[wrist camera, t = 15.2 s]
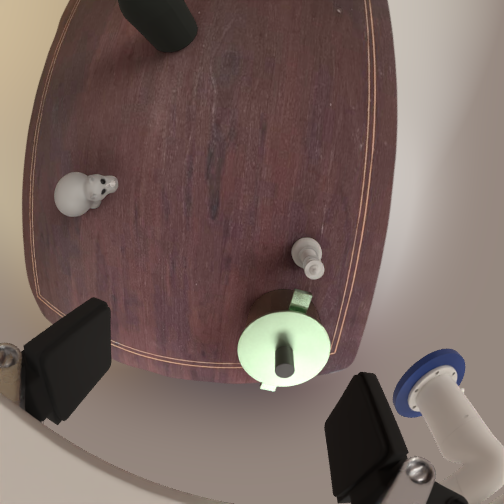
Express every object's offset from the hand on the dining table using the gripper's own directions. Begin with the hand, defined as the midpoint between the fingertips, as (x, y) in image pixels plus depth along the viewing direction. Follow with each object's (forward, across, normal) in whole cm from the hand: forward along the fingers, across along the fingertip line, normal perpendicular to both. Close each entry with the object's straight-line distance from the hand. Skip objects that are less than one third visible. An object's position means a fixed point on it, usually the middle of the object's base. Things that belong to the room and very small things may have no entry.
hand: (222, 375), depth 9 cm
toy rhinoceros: (+32, +28, 0) cm, 43 cm away
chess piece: (+32, -7, +1) cm, 33 cm away
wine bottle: (+32, +22, -29) cm, 49 cm away
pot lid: (+23, -7, +13) cm, 28 cm away
